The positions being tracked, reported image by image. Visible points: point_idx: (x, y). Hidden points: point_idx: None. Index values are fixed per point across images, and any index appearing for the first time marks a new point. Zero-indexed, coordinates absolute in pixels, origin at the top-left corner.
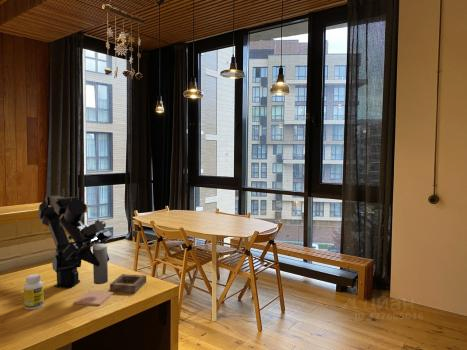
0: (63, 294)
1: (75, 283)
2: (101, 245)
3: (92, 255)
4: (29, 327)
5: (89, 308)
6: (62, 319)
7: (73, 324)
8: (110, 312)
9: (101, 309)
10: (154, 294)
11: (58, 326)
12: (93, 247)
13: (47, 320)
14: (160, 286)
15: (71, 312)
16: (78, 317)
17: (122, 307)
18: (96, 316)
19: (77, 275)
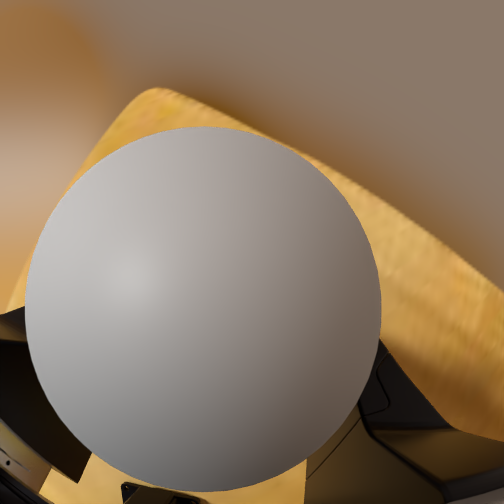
0: (262, 496)
1: (165, 491)
2: (154, 263)
3: (379, 365)
4: (500, 418)
5: (382, 312)
6: (464, 359)
7: (481, 296)
8: (392, 209)
9: (380, 255)
10: (217, 114)
11: (495, 337)
12: (339, 420)
13: (470, 403)
14: (146, 123)
15: (420, 364)
16: (447, 310)
17: (346, 181)
18: (429, 246)
19: (135, 501)
